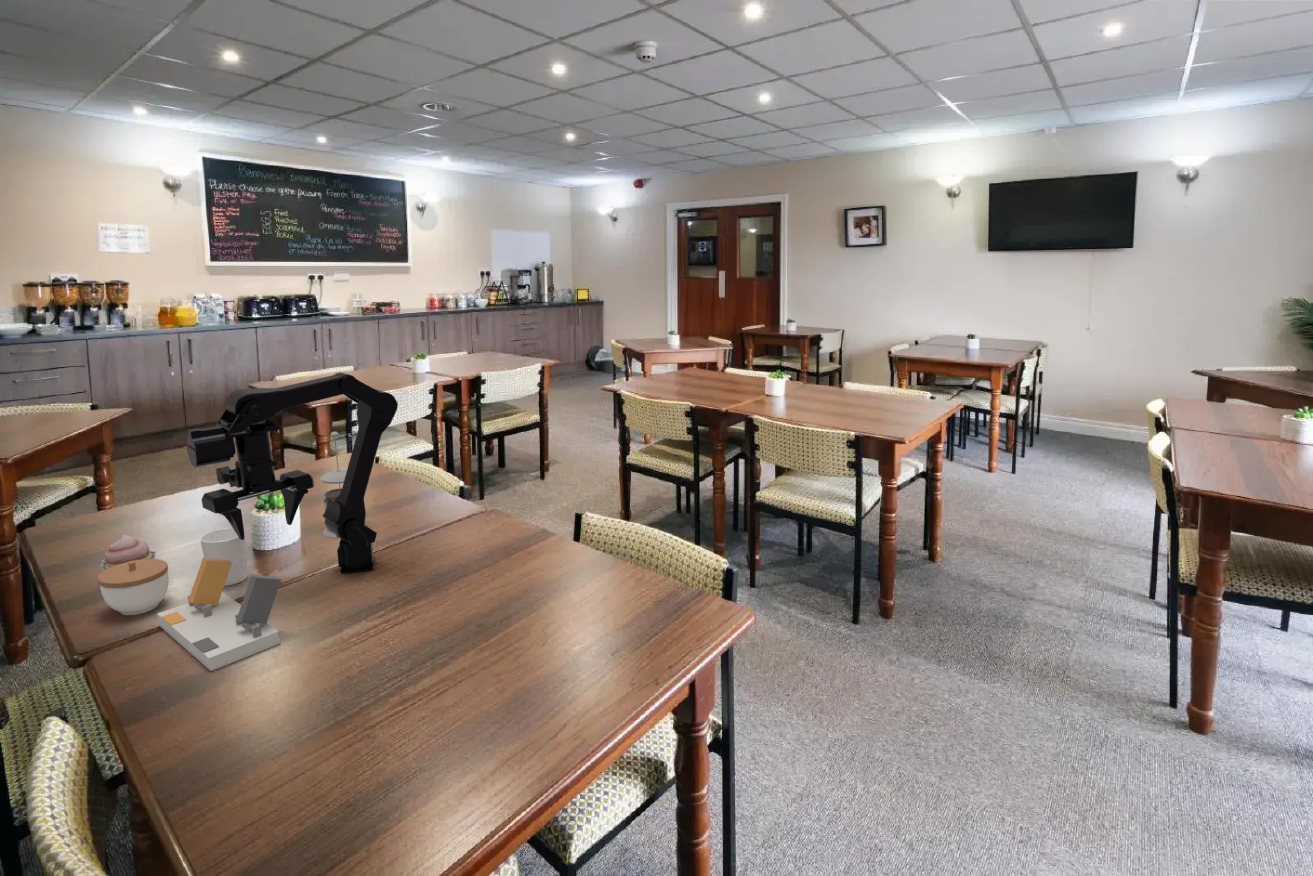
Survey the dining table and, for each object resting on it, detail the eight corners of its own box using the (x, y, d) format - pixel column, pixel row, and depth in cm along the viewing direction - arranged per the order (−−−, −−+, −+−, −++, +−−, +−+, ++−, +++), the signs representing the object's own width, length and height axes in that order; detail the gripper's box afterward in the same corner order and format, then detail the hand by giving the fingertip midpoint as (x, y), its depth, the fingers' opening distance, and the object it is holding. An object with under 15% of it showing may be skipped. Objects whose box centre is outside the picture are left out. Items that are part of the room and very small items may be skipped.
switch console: (224, 603, 137) (221, 583, 136) (280, 643, 124) (277, 621, 122) (159, 625, 129) (155, 604, 128) (210, 671, 115) (207, 648, 114)
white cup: (231, 589, 143) (224, 543, 140) (197, 585, 144) (190, 540, 142) (259, 573, 150) (253, 529, 148) (227, 569, 152) (221, 526, 149)
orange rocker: (207, 605, 133) (224, 557, 134) (219, 614, 130) (236, 565, 131) (182, 604, 129) (199, 555, 130) (193, 613, 126) (211, 563, 127)
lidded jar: (133, 593, 141) (125, 550, 138) (186, 595, 140) (179, 551, 138) (90, 620, 130) (80, 574, 128) (147, 622, 130) (138, 575, 127)
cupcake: (133, 568, 152) (125, 524, 149) (170, 572, 150) (163, 528, 147) (92, 587, 143) (82, 541, 140) (130, 592, 141) (122, 545, 139)
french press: (313, 535, 170) (302, 435, 164) (342, 518, 181) (332, 424, 175) (350, 539, 169) (340, 438, 163) (377, 521, 180) (368, 426, 174)
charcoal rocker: (255, 624, 127) (272, 574, 128) (268, 633, 124) (285, 582, 124) (230, 623, 123) (247, 571, 124) (243, 633, 120) (260, 580, 121)
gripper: (281, 438, 147) (291, 509, 151) (182, 460, 132) (195, 537, 136) (310, 447, 141) (320, 520, 145) (209, 470, 126) (223, 551, 130)
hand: (266, 531), depth 139 cm, fingers open, 9 cm apart
